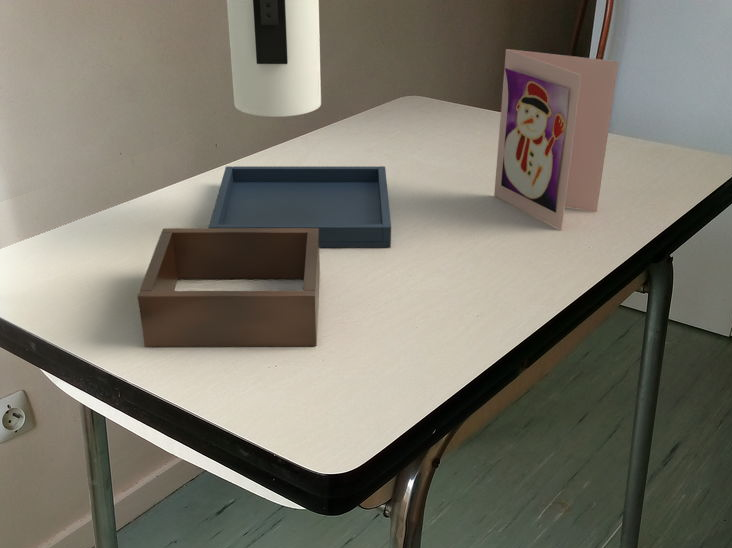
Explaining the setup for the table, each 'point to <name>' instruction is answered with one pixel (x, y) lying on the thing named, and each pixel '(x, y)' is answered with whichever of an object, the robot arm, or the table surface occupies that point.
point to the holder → (231, 308)
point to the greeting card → (553, 132)
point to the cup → (276, 81)
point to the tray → (308, 202)
